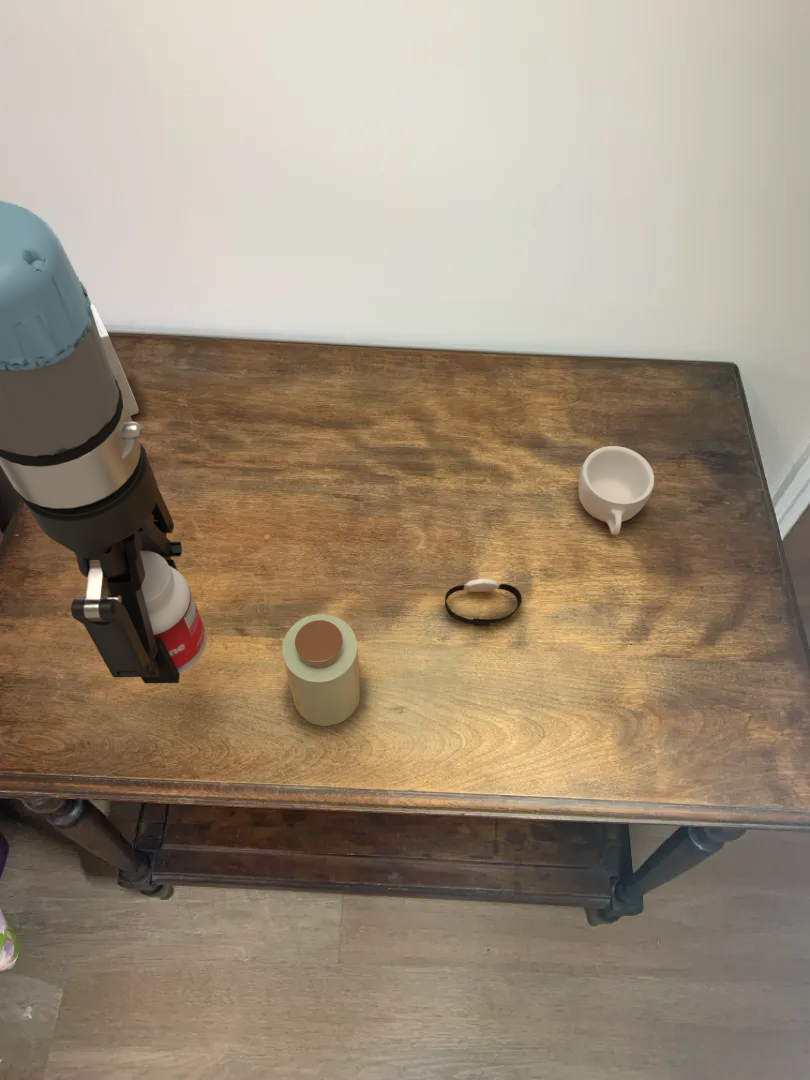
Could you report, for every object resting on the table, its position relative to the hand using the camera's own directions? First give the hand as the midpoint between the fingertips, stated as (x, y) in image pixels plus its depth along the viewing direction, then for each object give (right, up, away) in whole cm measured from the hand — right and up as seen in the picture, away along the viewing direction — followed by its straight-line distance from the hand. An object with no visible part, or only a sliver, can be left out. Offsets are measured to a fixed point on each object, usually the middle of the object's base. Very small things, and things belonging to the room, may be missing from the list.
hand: (168, 640), depth 67 cm
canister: (+12, -6, +10) cm, 17 cm away
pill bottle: (0, -1, +1) cm, 1 cm away
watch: (+27, +1, +16) cm, 32 cm away
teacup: (+42, +11, +23) cm, 49 cm away
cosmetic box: (-15, +25, +31) cm, 42 cm away
